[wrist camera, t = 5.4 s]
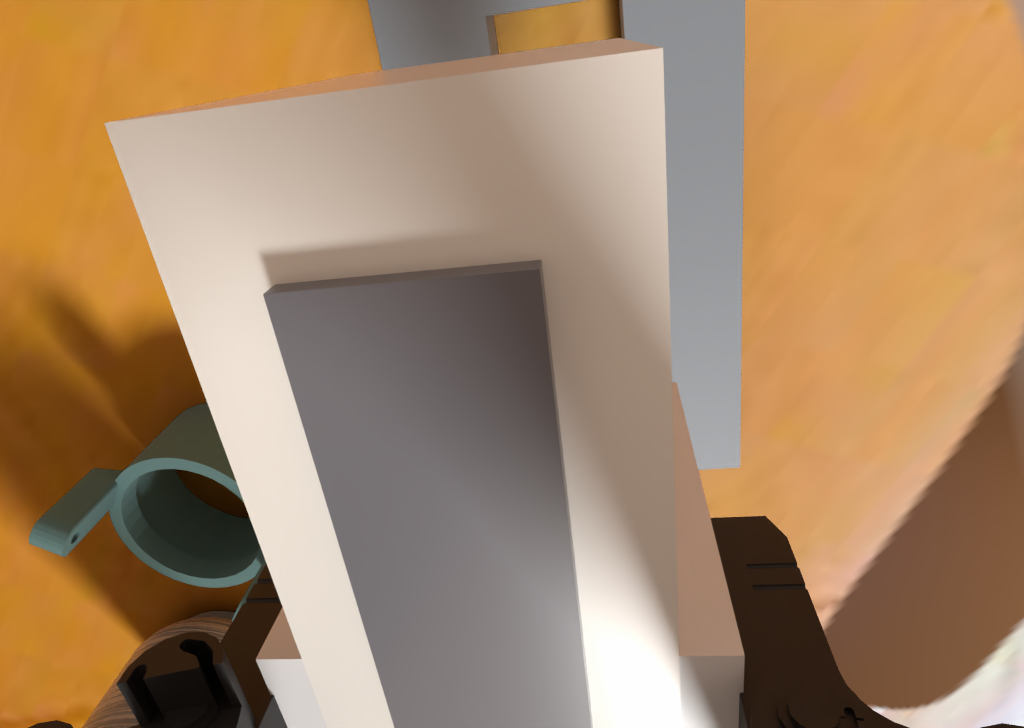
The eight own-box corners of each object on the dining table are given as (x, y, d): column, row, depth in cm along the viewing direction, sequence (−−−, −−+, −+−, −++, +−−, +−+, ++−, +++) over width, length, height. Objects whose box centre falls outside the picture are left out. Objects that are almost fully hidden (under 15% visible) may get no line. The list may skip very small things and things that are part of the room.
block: (388, 67, 14) (84, 127, 5) (614, 36, 13) (666, 49, 5) (496, 638, 20) (436, 1051, 12) (646, 636, 20) (692, 1070, 12)
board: (370, -75, 25) (349, -83, 23) (730, -144, 23) (746, -160, 21) (477, 454, 36) (471, 483, 34) (729, 437, 34) (740, 467, 32)
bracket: (132, 415, 37) (9, 528, 29) (282, 388, 35) (194, 499, 27) (205, 538, 41) (114, 666, 33) (343, 519, 39) (282, 649, 31)
